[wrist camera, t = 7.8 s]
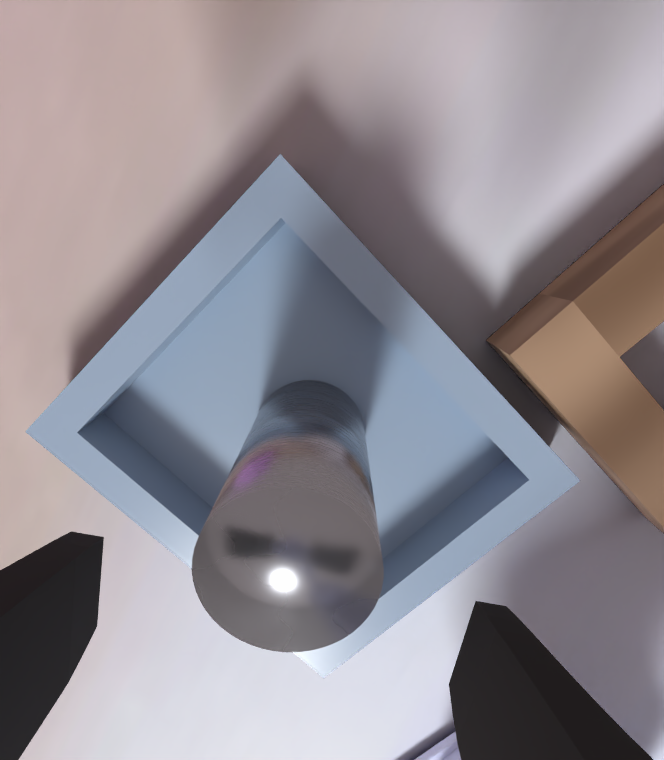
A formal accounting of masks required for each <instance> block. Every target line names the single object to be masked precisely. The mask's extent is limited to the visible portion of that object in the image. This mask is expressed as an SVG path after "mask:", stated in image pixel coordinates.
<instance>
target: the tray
mask: <svg viewBox="0 0 664 760" xmlns="http://www.w3.org/2000/svg"><path fill="white" fill-rule="evenodd" d="M302 380H316V381H322V382H326V383H329V384H331V385H334V386H336V387H338V388H339V389H341V390H342V391H344V392H345V393H346V394H347V395H348V396H349V397H350V398H351V399H352V400H353V401H354V402H355V404H356V405H357V407H358V409H359V411H360V413H361V416H362V419H363V423H364V430H365V437H366V445H367V452H368V459H369V466H370V473H371V480H372V488H373V495H374V502H375V509H376V516H377V524H378V531H379V538H380V545H381V552H382V559H383V567H384V579H383V585H382V590H381V593H380V596H379V599H378V601H377V603H376V606H375V608H374V609H373V611H372V612H371V614H370V615H369V617H368V618H367V619H366V620H365V621H364V622H363V624H362V625H361V626H360V627H358V628H357V629H356V630H355V631H354V632H353V633H351V634H350V635H348V636H347V637H345V638H344V639H342V640H340V641H338V642H336V643H334V644H331V645H329V646H326V647H323V648H319V649H315V650H311V651H303V652H292V653H294V654H295V655H296V656H297V657H299V658H300V659H301V660H302V661H303V662H305V663H306V664H307V665H308V666H309V667H311V668H312V669H313V670H314V671H315V672H317V673H318V674H319V675H320V676H321V677H323V678H325V677H326V676H328V675H329V674H330V673H332V672H333V671H334V670H335V669H337V668H338V667H339V666H341V665H342V664H343V663H345V662H346V661H347V660H348V659H350V658H351V657H352V656H354V655H355V654H356V653H358V652H359V651H360V650H361V649H363V648H364V647H365V646H367V645H368V644H369V643H370V642H372V641H373V640H374V639H376V638H377V637H378V636H380V635H381V634H382V633H383V632H385V631H386V630H387V629H389V628H390V627H391V626H393V625H394V624H395V623H396V622H398V621H399V620H400V619H402V618H403V617H404V616H406V615H407V614H408V613H409V612H411V611H412V610H413V609H415V608H416V607H417V606H419V605H420V604H421V603H422V602H424V601H425V600H426V599H428V598H429V597H430V596H432V595H433V594H434V593H435V592H437V591H438V590H439V589H441V588H442V587H443V586H444V585H446V584H447V583H448V582H450V581H451V580H452V579H454V578H455V577H456V576H457V575H459V574H460V573H461V572H463V571H464V570H465V569H467V568H468V567H469V566H470V565H472V564H473V563H474V562H476V561H477V560H478V559H480V558H481V557H482V556H483V555H485V554H486V553H487V552H489V551H490V550H491V549H493V548H494V547H495V546H496V545H498V544H499V543H500V542H502V541H503V540H504V539H506V538H507V537H508V536H509V535H511V534H512V533H513V532H515V531H516V530H517V529H518V528H520V527H521V526H522V525H524V524H525V523H526V522H528V521H529V520H530V519H531V518H533V517H534V516H535V515H537V514H538V513H539V512H541V511H542V510H543V509H544V508H546V507H547V506H548V505H550V504H551V503H552V502H554V501H555V500H556V499H557V498H559V497H560V496H561V495H563V494H564V493H565V492H567V491H568V490H569V489H570V488H572V487H573V486H574V485H576V484H577V483H578V482H579V481H580V480H579V479H578V478H577V477H576V476H575V474H574V473H573V472H572V471H571V470H570V469H569V468H568V467H567V466H566V465H565V464H564V462H563V461H562V460H561V459H560V458H559V457H558V456H557V455H556V454H555V453H554V452H553V450H552V449H551V448H550V447H549V446H548V445H547V444H546V443H545V442H544V441H543V440H542V438H541V437H540V436H539V435H538V434H537V433H536V432H535V431H534V430H533V429H532V428H531V427H530V425H529V424H528V423H527V422H526V421H525V420H524V419H523V418H522V417H521V416H520V415H519V413H518V412H517V411H516V410H515V409H514V408H513V407H512V406H511V405H510V404H509V403H508V401H507V400H506V399H505V398H504V397H503V396H502V395H501V394H500V393H499V392H498V391H497V389H496V388H495V387H494V386H493V385H492V384H491V383H490V382H489V381H488V380H487V379H486V377H485V376H484V375H483V374H482V373H481V372H480V371H479V370H478V369H477V368H476V367H475V366H474V364H473V363H472V362H471V361H470V360H469V359H468V358H467V357H466V356H465V355H464V354H463V352H462V351H461V350H460V349H459V348H458V347H457V346H456V345H455V344H454V343H453V342H452V340H451V339H450V338H449V337H448V336H447V335H446V334H445V333H444V332H443V331H442V330H441V328H440V327H439V326H438V325H437V324H436V323H435V322H434V321H433V320H432V319H431V318H430V317H429V315H428V314H427V313H426V312H425V311H424V310H423V309H422V308H421V307H420V306H419V305H418V303H417V302H416V301H415V300H414V299H413V298H412V297H411V296H410V295H409V294H408V293H407V291H406V290H405V289H404V288H403V287H402V286H401V285H400V284H399V283H398V282H397V281H396V279H395V278H394V277H393V276H392V275H391V274H390V273H389V272H388V271H387V270H386V269H385V267H384V266H383V265H382V264H381V263H380V262H379V261H378V260H377V259H376V258H375V257H374V256H373V254H372V253H371V252H370V251H369V250H368V249H367V248H366V247H365V246H364V245H363V244H362V242H361V241H360V240H359V239H358V238H357V237H356V236H355V235H354V234H353V233H352V232H351V230H350V229H349V228H348V227H347V226H346V225H345V224H344V223H343V222H342V221H341V220H340V218H339V217H338V216H337V215H336V214H335V213H334V212H333V211H332V210H331V209H330V208H329V207H328V205H327V204H326V203H325V202H324V201H323V200H322V199H321V198H320V197H319V196H318V195H317V193H316V192H315V191H314V190H313V189H312V188H311V187H310V186H309V185H308V184H307V183H306V181H305V180H304V179H303V178H302V177H301V176H300V175H299V174H298V173H297V172H296V171H295V169H294V168H293V167H292V166H291V165H290V164H289V163H288V162H287V161H286V160H285V159H284V158H283V156H282V155H281V154H280V155H279V156H278V157H277V158H276V159H275V160H274V161H273V162H272V163H271V164H270V166H269V167H268V168H267V169H266V170H265V171H264V172H263V173H262V174H261V175H260V176H259V178H258V179H257V180H256V181H255V182H254V183H253V184H252V185H251V186H250V187H249V188H248V190H247V191H246V192H245V193H244V194H243V195H242V196H241V197H240V198H239V199H238V200H237V202H236V203H235V204H234V205H233V206H232V207H231V208H230V209H229V210H228V211H227V212H226V214H225V215H224V216H223V217H222V218H221V219H220V220H219V221H218V222H217V223H216V224H215V226H214V227H213V228H212V229H211V230H210V231H209V232H208V233H207V234H206V235H205V236H204V238H203V239H202V240H201V241H200V242H199V243H198V244H197V245H196V246H195V247H194V248H193V249H192V251H191V252H190V253H189V254H188V255H187V256H186V257H185V258H184V259H183V260H182V261H181V263H180V264H179V265H178V266H177V267H176V268H175V269H174V270H173V271H172V272H171V273H170V275H169V276H168V277H167V278H166V279H165V280H164V281H163V282H162V283H161V284H160V285H159V287H158V288H157V289H156V290H155V291H154V292H153V293H152V294H151V295H150V296H149V297H148V299H147V300H146V301H145V302H144V303H143V304H142V305H141V306H140V307H139V308H138V309H137V311H136V312H135V313H134V314H133V315H132V316H131V317H130V318H129V319H128V320H127V321H126V323H125V324H124V325H123V326H122V327H121V328H120V329H119V330H118V331H117V332H116V333H115V335H114V336H113V337H112V338H111V339H110V340H109V341H108V342H107V343H106V344H105V345H104V347H103V348H102V349H101V350H100V351H99V352H98V353H97V354H96V355H95V356H94V357H93V359H92V360H91V361H90V362H89V363H88V364H87V365H86V366H85V367H84V368H83V369H82V371H81V372H80V373H79V374H78V375H77V376H76V377H75V378H74V379H73V380H72V381H71V382H70V384H69V385H68V386H67V387H66V388H65V389H64V390H63V391H62V392H61V393H60V394H59V396H58V397H57V398H56V399H55V400H54V401H53V402H52V403H51V404H50V405H49V406H48V408H47V409H46V410H45V411H44V412H43V413H42V414H41V415H40V416H39V417H38V418H37V420H36V421H35V422H34V423H33V424H32V425H31V426H30V427H29V428H28V429H27V430H26V433H27V434H29V435H30V436H31V437H32V438H34V439H35V440H36V441H37V442H38V443H40V444H41V445H42V446H43V447H44V448H46V449H47V450H48V451H49V452H50V453H52V454H53V455H54V456H55V457H57V458H58V459H59V460H60V461H61V462H63V463H64V464H65V465H66V466H67V467H69V468H70V469H71V470H72V471H73V472H75V473H76V474H77V475H78V476H80V477H81V478H82V479H83V480H84V481H86V482H87V483H88V484H89V485H90V486H92V487H93V488H94V489H95V490H96V491H98V492H99V493H100V494H101V495H103V496H104V497H105V498H106V499H107V500H109V501H110V502H111V503H112V504H113V505H115V506H116V507H117V508H118V509H119V510H121V511H122V512H123V513H124V514H125V515H127V516H128V517H129V518H130V519H132V520H133V521H134V522H135V523H136V524H138V525H139V526H140V527H141V528H142V529H144V530H145V531H146V532H147V533H148V534H150V535H151V536H152V537H153V538H155V539H156V540H157V541H158V542H159V543H161V544H162V545H163V546H164V547H165V548H167V549H168V550H169V551H170V552H171V553H173V554H174V555H175V556H176V557H178V558H179V559H180V560H181V561H182V562H184V563H185V564H186V565H187V566H188V567H190V568H191V569H192V557H193V552H194V548H195V545H196V542H197V539H198V537H199V535H200V533H201V531H202V528H203V526H204V524H205V522H206V520H207V518H208V516H209V514H210V512H211V510H212V508H213V506H214V504H215V502H216V500H217V498H218V496H219V494H220V491H221V489H222V487H223V485H224V483H225V481H226V479H227V477H228V475H229V473H230V471H231V469H232V467H233V465H234V463H235V461H236V459H237V457H238V454H239V452H240V450H241V448H242V446H243V444H244V442H245V440H246V438H247V436H248V434H249V432H250V430H251V428H252V426H253V424H254V422H255V420H256V417H257V415H258V413H259V411H260V409H261V407H262V406H263V404H264V403H265V401H266V400H267V399H268V398H269V396H270V395H271V394H273V393H274V392H275V391H276V390H278V389H279V388H281V387H283V386H285V385H287V384H289V383H292V382H296V381H302Z"/></svg>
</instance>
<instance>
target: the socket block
mask: <svg viewBox="0 0 664 760" xmlns="http://www.w3.org/2000/svg"><path fill="white" fill-rule="evenodd" d="M663 321H664V184H663V185H662V186H661V187H660V188H659V189H657V190H656V191H655V192H654V193H653V194H652V195H651V196H649V197H648V198H647V199H646V200H645V201H644V202H643V203H641V204H640V205H639V206H638V207H637V208H636V209H635V210H633V211H632V212H631V213H630V214H629V215H628V216H627V217H626V218H624V219H623V220H622V221H621V222H620V223H619V224H618V225H616V226H615V227H614V228H613V229H612V230H611V231H610V232H608V233H607V234H606V235H605V236H604V237H603V238H602V239H601V240H599V241H598V242H597V243H596V244H595V245H594V246H593V247H591V248H590V249H589V250H588V251H587V252H586V253H585V254H583V255H582V256H581V257H580V258H579V259H578V260H577V261H576V262H574V263H573V264H572V265H571V266H570V267H569V268H568V269H566V270H565V271H564V272H563V273H562V274H561V275H560V276H558V277H557V278H556V279H555V280H554V281H553V282H552V283H551V284H549V285H548V286H547V287H546V288H545V289H544V290H543V291H541V292H540V293H539V294H538V295H537V296H536V297H535V298H533V299H532V300H531V301H530V302H529V303H528V304H527V305H525V306H524V307H523V308H522V309H521V310H520V311H519V312H518V313H516V314H515V315H514V316H513V317H512V318H511V319H510V320H508V321H507V322H506V323H505V324H504V325H503V326H502V327H500V328H499V329H498V330H497V331H496V332H495V333H494V334H493V335H491V336H490V337H489V338H488V339H487V340H486V341H487V342H488V343H489V344H490V345H491V346H492V347H493V349H494V350H495V351H496V352H497V353H498V354H499V355H500V356H501V357H502V359H503V360H504V361H505V362H506V363H507V364H508V365H509V366H510V367H511V369H512V370H513V371H514V372H515V373H516V374H517V375H518V376H519V377H520V379H521V380H522V381H523V382H524V383H525V384H526V385H527V386H528V387H529V389H530V390H531V391H532V392H533V393H534V394H535V395H536V396H537V397H538V399H539V400H540V401H541V402H542V403H543V404H544V405H545V406H546V408H547V409H548V410H549V411H550V412H551V413H552V414H553V415H554V416H555V418H556V419H557V420H558V421H559V422H560V423H561V424H562V425H563V426H564V428H565V429H566V430H567V431H568V432H569V433H570V434H571V435H572V436H573V438H574V439H575V440H576V441H577V442H578V443H579V444H580V445H581V446H582V448H583V449H584V450H585V451H586V452H587V453H588V454H589V455H590V456H591V458H592V459H593V460H594V461H595V462H596V463H597V464H598V465H599V466H600V468H601V469H602V470H603V471H604V472H605V473H606V474H607V475H608V476H609V478H610V479H611V480H612V481H613V482H614V483H615V484H616V485H617V486H618V488H619V489H620V490H621V491H622V492H623V493H624V494H625V495H626V496H627V498H628V499H629V500H630V501H631V502H632V503H633V504H634V505H635V506H636V508H637V509H638V510H639V511H640V512H641V513H642V514H643V515H644V516H645V518H647V519H648V520H649V521H650V522H651V523H652V524H653V525H654V526H656V527H657V528H658V529H659V530H660V531H661V532H662V533H664V410H663V409H662V407H661V406H660V405H659V404H658V403H657V402H656V400H655V399H654V398H653V397H652V396H651V394H650V393H649V392H648V391H647V390H646V388H645V387H644V386H643V385H642V384H641V382H640V381H639V380H638V379H637V378H636V376H635V375H634V374H633V373H632V372H631V370H630V369H629V368H628V367H627V366H626V364H625V363H624V362H623V361H622V360H621V358H620V356H622V355H623V354H624V353H625V352H626V351H628V350H629V349H630V348H631V347H633V346H634V345H635V344H636V343H637V342H639V341H640V340H641V339H642V338H644V337H645V336H646V335H647V334H649V333H650V332H651V331H652V330H653V329H655V328H656V327H657V326H658V325H660V324H661V323H662V322H663Z"/></svg>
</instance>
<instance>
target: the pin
mask: <svg viewBox="0 0 664 760" xmlns="http://www.w3.org/2000/svg"><path fill="white" fill-rule="evenodd" d="M192 576H193V582H194V586H195V589H196V592H197V595H198V597H199V599H200V601H201V603H202V605H203V606H204V608H205V610H206V611H207V612H208V614H209V615H210V616H211V617H212V619H213V620H214V621H215V622H216V623H217V624H218V625H219V626H221V627H222V628H223V629H224V630H226V631H227V632H228V633H230V634H231V635H233V636H234V637H236V638H238V639H239V640H241V641H244V642H246V643H248V644H250V645H253V646H256V647H259V648H262V649H267V650H272V651H279V652H303V651H311V650H315V649H319V648H323V647H326V646H329V645H331V644H334V643H336V642H338V641H340V640H342V639H344V638H345V637H347V636H348V635H350V634H351V633H353V632H354V631H355V630H356V629H357V628H358V627H360V626H361V625H362V624H363V622H364V621H365V620H366V619H367V618H368V617H369V615H370V614H371V612H372V611H373V609H374V608H375V606H376V603H377V601H378V599H379V596H380V593H381V590H382V585H383V579H384V567H383V559H382V552H381V545H380V538H379V531H378V524H377V516H376V509H375V502H374V495H373V488H372V480H371V473H370V466H369V459H368V452H367V445H366V437H365V430H364V423H363V419H362V416H361V413H360V411H359V409H358V407H357V405H356V404H355V402H354V401H353V400H352V399H351V398H350V397H349V396H348V395H347V394H346V393H345V392H344V391H342V390H341V389H339V388H338V387H336V386H334V385H331V384H329V383H326V382H322V381H316V380H302V381H296V382H292V383H289V384H287V385H285V386H283V387H281V388H279V389H278V390H276V391H275V392H274V393H273V394H271V395H270V396H269V398H268V399H267V400H266V401H265V403H264V404H263V406H262V407H261V409H260V411H259V413H258V415H257V417H256V420H255V422H254V424H253V426H252V428H251V430H250V432H249V434H248V436H247V438H246V440H245V442H244V444H243V446H242V448H241V450H240V452H239V454H238V457H237V459H236V461H235V463H234V465H233V467H232V469H231V471H230V473H229V475H228V477H227V479H226V481H225V483H224V485H223V487H222V489H221V491H220V494H219V496H218V498H217V500H216V502H215V504H214V506H213V508H212V510H211V512H210V514H209V516H208V518H207V520H206V522H205V524H204V526H203V528H202V531H201V533H200V535H199V537H198V539H197V542H196V545H195V548H194V552H193V557H192Z"/></svg>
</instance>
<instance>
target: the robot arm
mask: <svg viewBox="0 0 664 760" xmlns="http://www.w3.org/2000/svg"><path fill="white" fill-rule="evenodd" d="M103 539H104V537H100V536H94V535H88V534H82V533H76V532H70V533H68V534H66V535H64V536H62V537H60V538H58V539H56V540H54V541H52V542H51V543H49V544H47V545H45V546H43V547H42V548H40V549H38V550H36V551H34V552H33V553H31V554H29V555H27V556H25V557H24V558H22V559H20V560H18V561H16V562H15V563H13V564H11V565H9V566H8V567H6V568H4V569H2V570H0V760H18V759H19V758H20V756H21V755H22V753H23V752H24V750H25V749H26V747H27V746H28V744H29V743H30V741H31V740H32V738H33V736H34V735H35V733H36V732H37V730H38V729H39V727H40V726H41V724H42V723H43V721H44V720H45V718H46V716H47V715H48V713H49V712H50V710H51V709H52V707H53V706H54V704H55V703H56V701H57V699H58V698H59V696H60V695H61V693H62V692H63V690H64V688H65V687H66V685H67V684H68V682H69V680H70V678H71V676H72V675H73V673H74V671H75V669H76V667H77V665H78V663H79V661H80V659H81V657H82V655H83V653H84V651H85V649H86V647H87V645H88V643H89V641H90V639H91V637H92V635H93V633H94V631H95V629H96V627H97V619H98V606H99V592H100V579H101V566H102V553H103ZM449 688H450V696H451V704H452V711H453V718H454V725H455V732H454V733H452V734H451V735H449V736H448V737H446V738H445V739H444V740H442V741H441V742H439V743H438V744H436V745H435V746H433V747H432V748H431V749H429V750H428V751H426V752H425V753H423V754H422V755H420V756H419V757H417V758H416V759H415V760H653V759H652V758H651V757H650V756H649V755H648V754H647V753H646V752H645V751H644V750H643V749H642V748H641V747H640V746H639V745H638V744H637V743H636V742H635V741H634V740H633V739H632V738H631V737H630V736H629V735H628V734H627V733H626V732H625V731H624V730H623V729H622V728H621V727H620V726H619V725H618V724H617V723H616V722H615V721H614V720H613V719H612V718H611V717H610V716H609V715H608V714H607V713H606V712H605V711H604V710H603V709H602V708H601V707H600V706H599V704H598V703H597V702H596V701H595V700H594V699H593V698H592V697H591V696H590V695H589V694H588V693H587V692H586V691H585V690H584V689H583V688H582V687H581V685H580V684H579V683H578V682H577V681H576V680H575V679H574V678H573V677H572V676H571V675H570V674H569V673H568V672H567V670H566V669H565V668H564V667H563V666H562V665H561V664H560V663H559V662H558V661H557V660H556V658H555V657H554V656H553V655H552V654H551V653H550V652H549V651H548V650H547V649H546V648H545V647H544V645H543V644H542V643H541V642H540V641H539V640H538V639H537V638H536V637H535V636H534V635H533V633H532V632H531V631H530V630H529V629H528V628H527V627H526V626H525V625H524V624H523V623H522V622H521V621H520V620H519V619H518V618H517V616H516V615H515V614H514V613H513V612H512V611H511V610H510V609H508V608H507V607H506V606H501V605H496V604H490V603H484V602H478V601H476V602H475V605H474V608H473V611H472V614H471V617H470V620H469V623H468V627H467V630H466V633H465V636H464V639H463V642H462V645H461V648H460V651H459V655H458V658H457V661H456V664H455V667H454V670H453V673H452V676H451V679H450V683H449Z"/></svg>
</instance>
